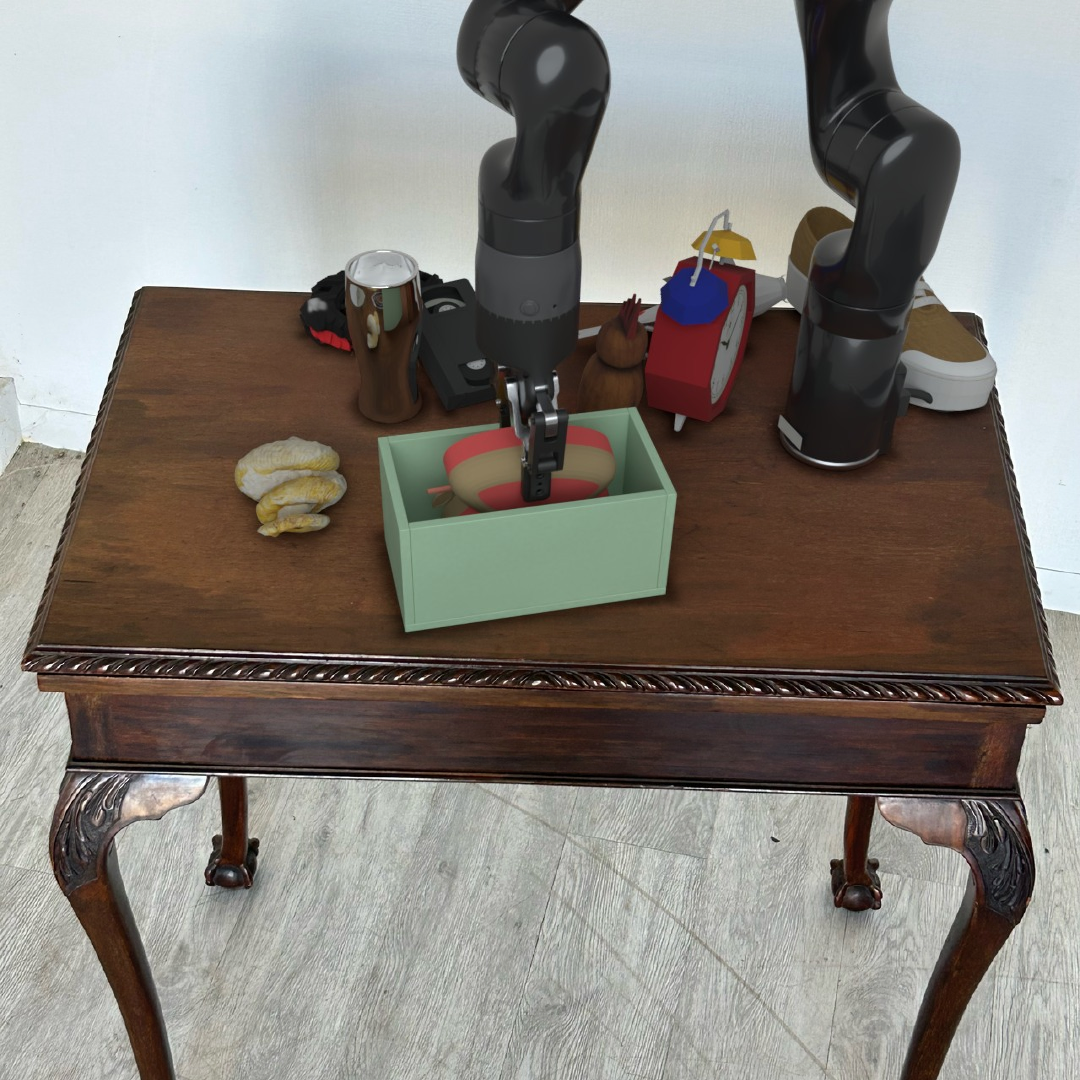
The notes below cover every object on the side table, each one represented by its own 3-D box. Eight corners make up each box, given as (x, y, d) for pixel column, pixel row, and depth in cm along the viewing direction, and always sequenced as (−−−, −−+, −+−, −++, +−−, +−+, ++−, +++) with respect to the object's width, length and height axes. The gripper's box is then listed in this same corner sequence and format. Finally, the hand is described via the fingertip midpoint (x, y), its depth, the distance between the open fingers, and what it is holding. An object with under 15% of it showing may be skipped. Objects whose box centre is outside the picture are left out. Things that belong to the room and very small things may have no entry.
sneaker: (927, 432, 129) (956, 340, 123) (755, 288, 148) (772, 202, 142) (1007, 411, 133) (1039, 321, 127) (829, 273, 152) (849, 189, 146)
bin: (627, 505, 121) (635, 406, 114) (665, 594, 113) (677, 493, 106) (384, 537, 117) (377, 437, 110) (405, 632, 109) (399, 530, 102)
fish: (798, 237, 139) (744, 241, 148) (575, 286, 130) (533, 288, 139) (811, 335, 142) (758, 334, 151) (594, 391, 133) (551, 385, 142)
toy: (361, 260, 151) (359, 236, 149) (486, 298, 146) (486, 274, 144) (271, 335, 140) (268, 310, 138) (404, 379, 135) (402, 353, 133)
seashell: (358, 401, 122) (314, 501, 110) (371, 457, 125) (330, 559, 114) (252, 404, 124) (198, 503, 112) (268, 460, 127) (218, 560, 116)
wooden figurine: (626, 453, 127) (662, 314, 117) (566, 438, 127) (597, 297, 117) (636, 413, 132) (672, 277, 122) (578, 399, 132) (609, 261, 122)
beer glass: (409, 433, 128) (402, 294, 118) (341, 417, 130) (329, 279, 120) (437, 392, 133) (433, 256, 123) (371, 377, 135) (362, 242, 125)
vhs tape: (521, 391, 134) (524, 378, 132) (446, 411, 131) (448, 397, 129) (465, 291, 140) (467, 276, 139) (393, 307, 138) (393, 293, 136)
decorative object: (608, 543, 117) (435, 575, 113) (595, 507, 118) (425, 537, 115) (629, 448, 105) (438, 480, 102) (615, 409, 107) (427, 440, 104)
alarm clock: (701, 454, 127) (725, 264, 113) (613, 430, 129) (627, 241, 116) (747, 371, 137) (775, 187, 123) (665, 350, 139) (684, 168, 126)
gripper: (609, 335, 93) (597, 522, 104) (550, 232, 103) (544, 413, 114) (502, 350, 91) (501, 539, 102) (452, 244, 101) (456, 426, 113)
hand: (524, 472), depth 108 cm, fingers open, 6 cm apart
